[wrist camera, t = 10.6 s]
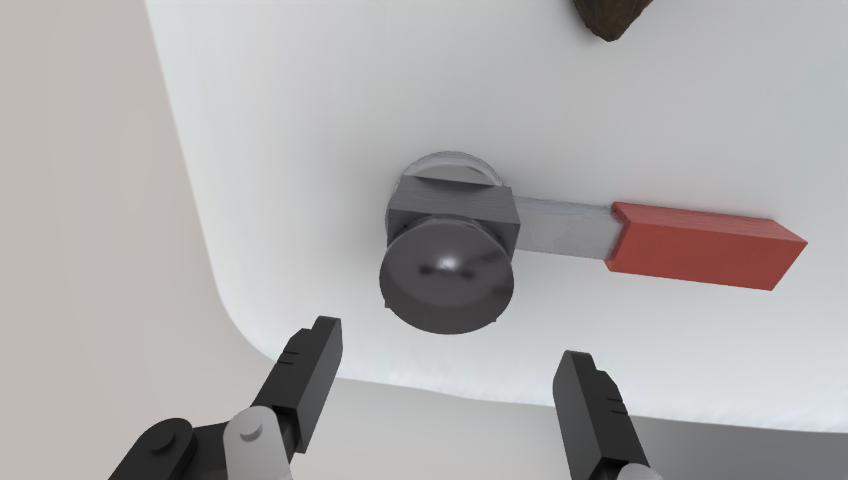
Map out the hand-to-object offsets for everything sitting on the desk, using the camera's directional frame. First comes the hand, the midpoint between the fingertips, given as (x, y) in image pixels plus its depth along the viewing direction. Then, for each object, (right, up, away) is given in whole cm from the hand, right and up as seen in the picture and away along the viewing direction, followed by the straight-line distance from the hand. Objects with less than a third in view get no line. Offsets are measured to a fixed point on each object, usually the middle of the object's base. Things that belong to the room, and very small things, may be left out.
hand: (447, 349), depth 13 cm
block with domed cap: (+1, +5, +7) cm, 8 cm away
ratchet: (+8, +5, +9) cm, 13 cm away
